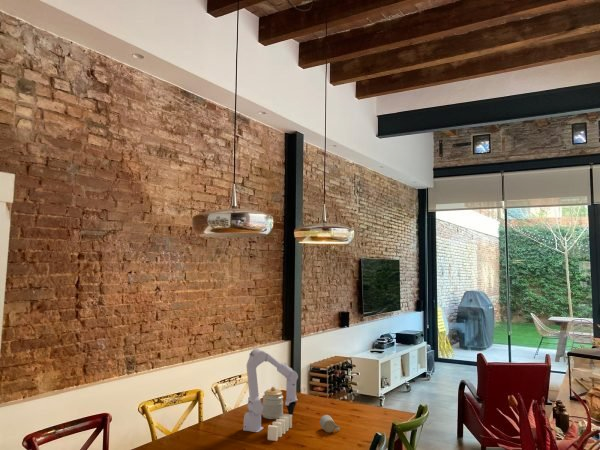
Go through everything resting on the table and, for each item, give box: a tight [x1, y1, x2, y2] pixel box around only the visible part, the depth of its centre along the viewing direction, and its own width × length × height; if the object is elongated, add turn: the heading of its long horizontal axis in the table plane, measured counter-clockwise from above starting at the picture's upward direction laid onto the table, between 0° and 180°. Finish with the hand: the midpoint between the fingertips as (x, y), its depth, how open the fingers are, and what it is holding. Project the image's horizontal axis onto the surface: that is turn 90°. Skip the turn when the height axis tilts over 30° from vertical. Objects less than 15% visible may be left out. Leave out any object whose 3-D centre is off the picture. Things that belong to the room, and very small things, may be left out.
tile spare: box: [267, 424, 279, 442], centre depth 245 cm, size 5×2×7 cm, turn 70°
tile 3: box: [275, 418, 286, 435], centre depth 255 cm, size 5×2×7 cm, turn 70°
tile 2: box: [278, 416, 290, 432], centre depth 260 cm, size 5×2×7 cm, turn 70°
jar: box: [261, 386, 284, 420], centre depth 285 cm, size 13×13×18 cm
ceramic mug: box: [319, 414, 340, 433], centre depth 260 cm, size 11×8×8 cm
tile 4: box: [271, 421, 283, 438], centre depth 251 cm, size 5×2×7 cm, turn 70°
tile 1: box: [283, 413, 293, 429], centre depth 265 cm, size 5×2×7 cm, turn 70°
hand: (290, 414), depth 270 cm, fingers closed
